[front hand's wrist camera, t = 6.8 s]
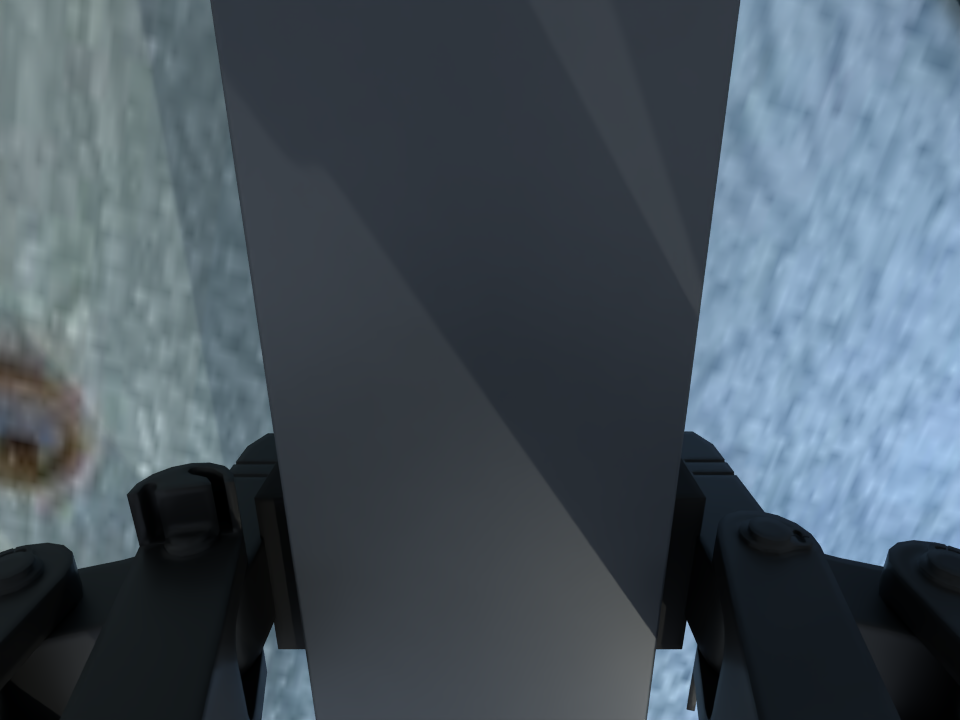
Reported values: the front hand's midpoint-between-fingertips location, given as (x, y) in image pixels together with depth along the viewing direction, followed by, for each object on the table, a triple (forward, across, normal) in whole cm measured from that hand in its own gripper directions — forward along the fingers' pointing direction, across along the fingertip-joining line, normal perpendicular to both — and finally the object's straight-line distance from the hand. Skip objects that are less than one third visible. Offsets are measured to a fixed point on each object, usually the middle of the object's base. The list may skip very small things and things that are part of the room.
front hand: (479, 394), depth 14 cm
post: (+1, 0, -24) cm, 24 cm away
